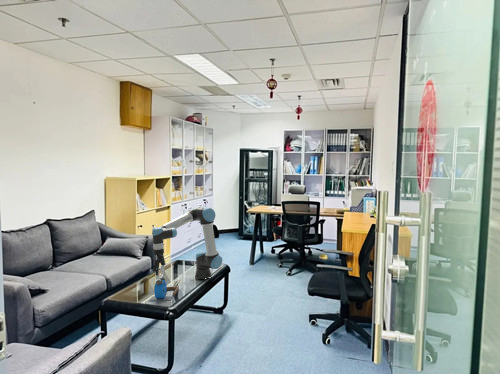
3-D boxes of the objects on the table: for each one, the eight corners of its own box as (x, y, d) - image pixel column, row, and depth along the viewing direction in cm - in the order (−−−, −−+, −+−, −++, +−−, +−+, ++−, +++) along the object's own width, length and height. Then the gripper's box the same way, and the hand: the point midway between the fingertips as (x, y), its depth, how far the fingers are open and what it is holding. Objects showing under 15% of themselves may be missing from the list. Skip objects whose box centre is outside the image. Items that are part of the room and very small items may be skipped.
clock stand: (178, 289, 270) (178, 286, 270) (174, 296, 255) (173, 293, 255) (166, 289, 270) (166, 286, 270) (161, 296, 255) (160, 293, 255)
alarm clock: (159, 295, 257) (158, 275, 256) (167, 294, 257) (166, 275, 256) (154, 301, 244) (153, 281, 243) (162, 301, 243) (161, 280, 243)
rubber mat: (173, 296, 254) (173, 295, 254) (170, 300, 246) (170, 299, 246) (152, 297, 254) (152, 296, 254) (148, 301, 246) (148, 300, 246)
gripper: (158, 252, 236) (160, 281, 237) (168, 244, 261) (169, 271, 262) (148, 252, 237) (150, 282, 237) (158, 245, 262) (160, 271, 262)
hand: (160, 276), depth 250 cm, fingers open, 13 cm apart
